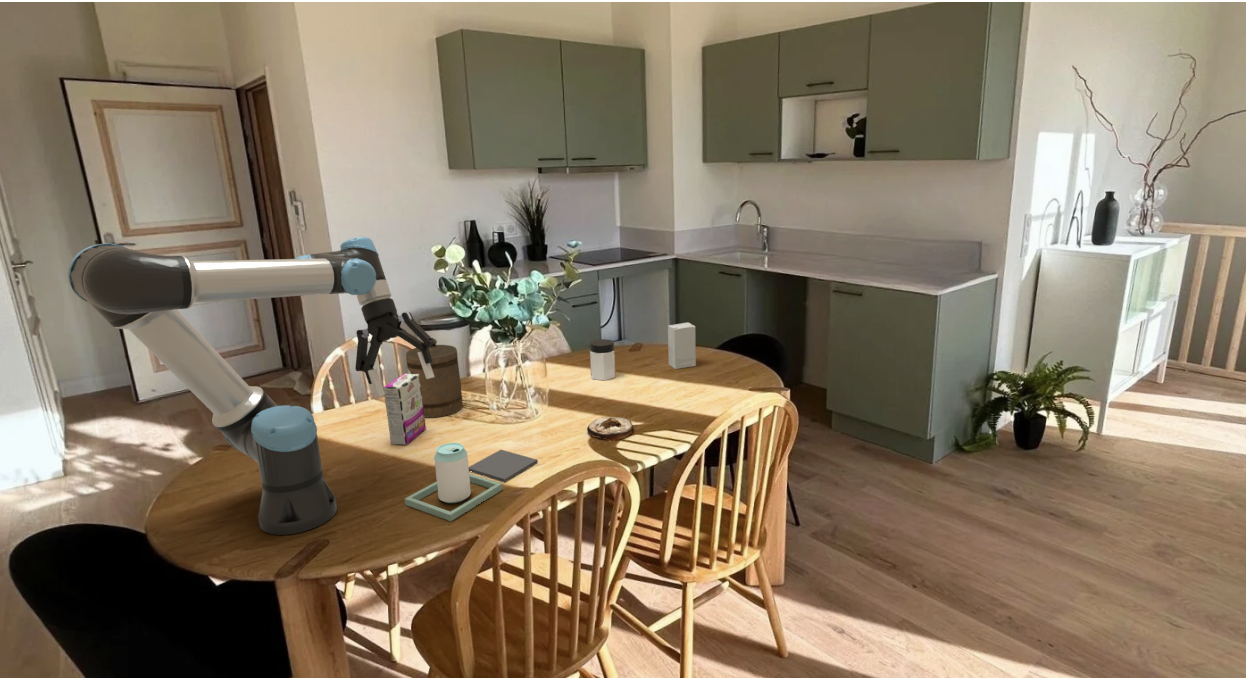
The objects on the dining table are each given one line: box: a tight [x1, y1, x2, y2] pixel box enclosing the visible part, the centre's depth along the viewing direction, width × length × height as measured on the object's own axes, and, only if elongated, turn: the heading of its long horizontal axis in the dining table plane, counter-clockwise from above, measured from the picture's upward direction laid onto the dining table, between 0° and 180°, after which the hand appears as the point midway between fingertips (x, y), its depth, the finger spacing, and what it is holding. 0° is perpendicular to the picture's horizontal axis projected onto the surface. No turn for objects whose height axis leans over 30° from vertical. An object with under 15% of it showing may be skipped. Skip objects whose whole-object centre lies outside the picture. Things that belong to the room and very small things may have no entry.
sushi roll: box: [586, 416, 634, 443], centre depth 188 cm, size 15×15×4 cm
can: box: [433, 442, 472, 504], centre depth 153 cm, size 7×7×12 cm
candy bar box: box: [382, 373, 427, 446], centre depth 186 cm, size 11×5×16 cm, turn 168°
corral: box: [404, 473, 504, 522], centre depth 154 cm, size 16×14×2 cm
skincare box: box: [667, 322, 697, 370], centre depth 241 cm, size 8×6×15 cm
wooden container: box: [405, 337, 464, 419], centre depth 205 cm, size 15×15×22 cm
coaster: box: [468, 449, 539, 483], centre depth 169 cm, size 12×12×1 cm
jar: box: [589, 338, 616, 381], centre depth 232 cm, size 9×8×12 cm
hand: (405, 387), depth 163 cm, fingers open, 13 cm apart
